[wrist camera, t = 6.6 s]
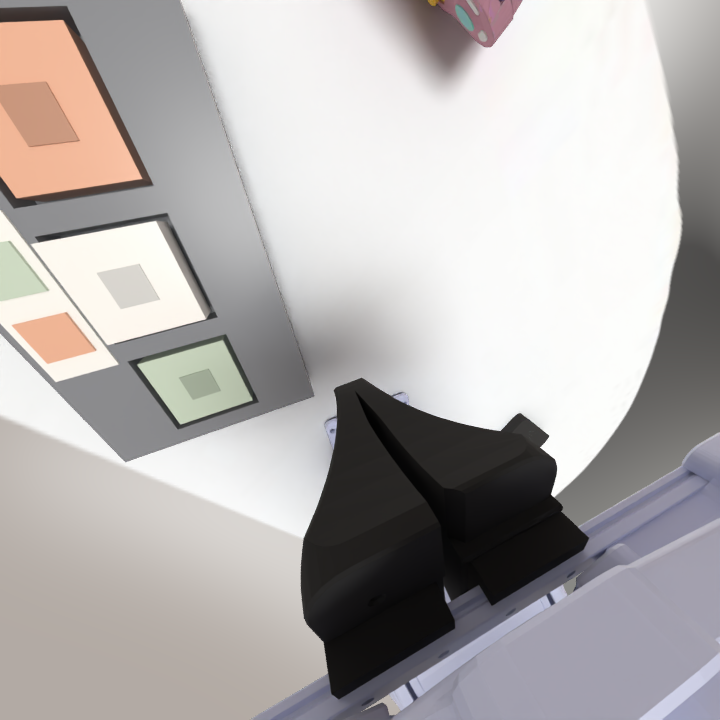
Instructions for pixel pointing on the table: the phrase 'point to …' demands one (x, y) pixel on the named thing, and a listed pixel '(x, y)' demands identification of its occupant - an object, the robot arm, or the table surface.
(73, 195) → the terracotta key
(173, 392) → the sage key
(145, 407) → the keypad
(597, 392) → the table surface
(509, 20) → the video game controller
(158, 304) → the white key
